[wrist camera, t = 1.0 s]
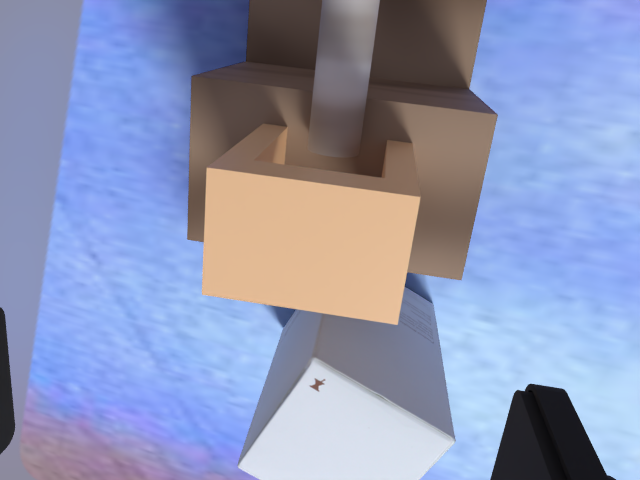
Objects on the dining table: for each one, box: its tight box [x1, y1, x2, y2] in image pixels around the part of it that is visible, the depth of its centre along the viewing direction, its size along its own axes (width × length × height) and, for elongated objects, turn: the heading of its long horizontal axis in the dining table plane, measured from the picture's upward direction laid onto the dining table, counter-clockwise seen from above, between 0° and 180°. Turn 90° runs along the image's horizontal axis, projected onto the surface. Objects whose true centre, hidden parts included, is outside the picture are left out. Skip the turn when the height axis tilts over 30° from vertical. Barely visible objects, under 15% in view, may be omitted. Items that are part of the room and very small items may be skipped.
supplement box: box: [238, 287, 456, 480], centre depth 31 cm, size 7×7×13 cm
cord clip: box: [202, 124, 421, 325], centre depth 20 cm, size 4×6×8 cm, turn 84°
